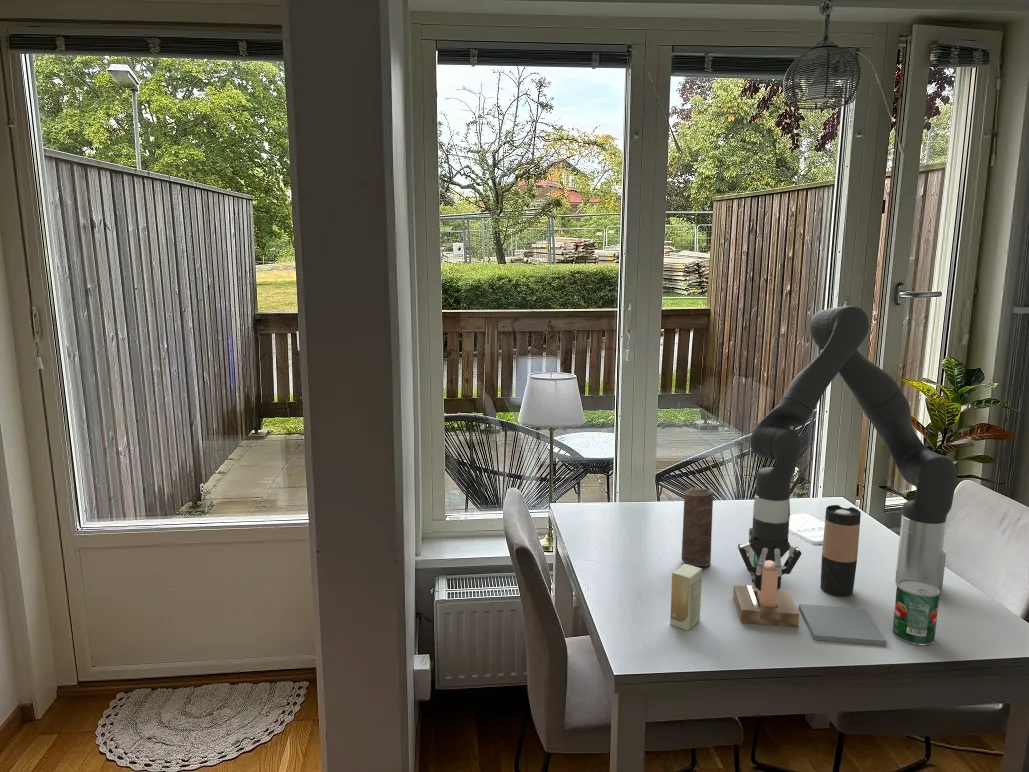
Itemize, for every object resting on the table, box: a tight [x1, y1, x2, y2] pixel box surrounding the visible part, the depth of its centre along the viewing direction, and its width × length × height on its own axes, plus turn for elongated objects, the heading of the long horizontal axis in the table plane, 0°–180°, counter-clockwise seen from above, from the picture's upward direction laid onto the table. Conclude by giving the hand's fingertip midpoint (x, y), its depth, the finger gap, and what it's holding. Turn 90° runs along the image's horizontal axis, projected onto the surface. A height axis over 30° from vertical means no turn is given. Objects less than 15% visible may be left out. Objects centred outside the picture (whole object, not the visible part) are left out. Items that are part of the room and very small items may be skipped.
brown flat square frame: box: [732, 584, 800, 628], centre depth 162 cm, size 12×12×3 cm
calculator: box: [789, 512, 825, 546], centre depth 212 cm, size 13×20×2 cm, turn 18°
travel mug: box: [820, 504, 862, 598], centre depth 172 cm, size 8×8×20 cm
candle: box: [681, 487, 714, 567], centre depth 186 cm, size 8×7×20 cm
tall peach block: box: [757, 560, 778, 608], centre depth 161 cm, size 3×6×9 cm, turn 172°
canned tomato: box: [891, 579, 941, 645], centre depth 151 cm, size 8×8×11 cm
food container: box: [747, 527, 756, 583], centre depth 181 cm, size 12×6×10 cm, turn 168°
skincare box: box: [669, 563, 703, 631], centre depth 156 cm, size 6×4×12 cm
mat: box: [798, 603, 887, 646], centre depth 156 cm, size 14×14×1 cm
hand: (766, 589), depth 162 cm, fingers closed on tall peach block, 2 cm apart
